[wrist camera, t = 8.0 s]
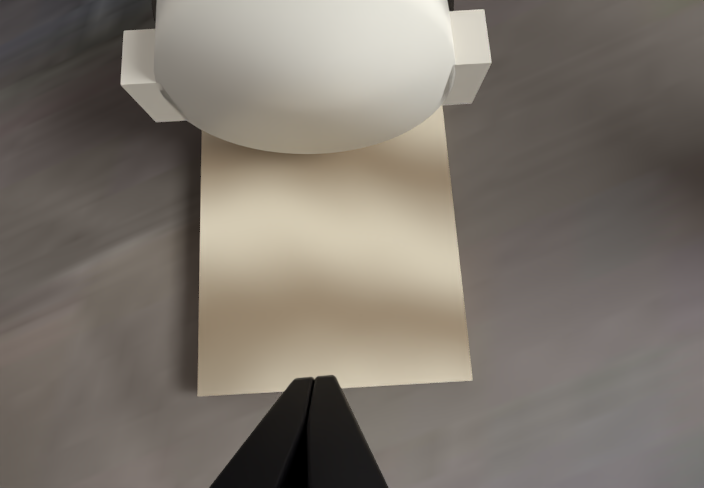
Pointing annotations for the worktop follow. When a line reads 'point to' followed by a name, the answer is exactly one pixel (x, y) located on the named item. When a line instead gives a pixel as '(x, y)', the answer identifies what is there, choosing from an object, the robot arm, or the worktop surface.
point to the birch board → (330, 266)
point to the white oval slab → (305, 68)
